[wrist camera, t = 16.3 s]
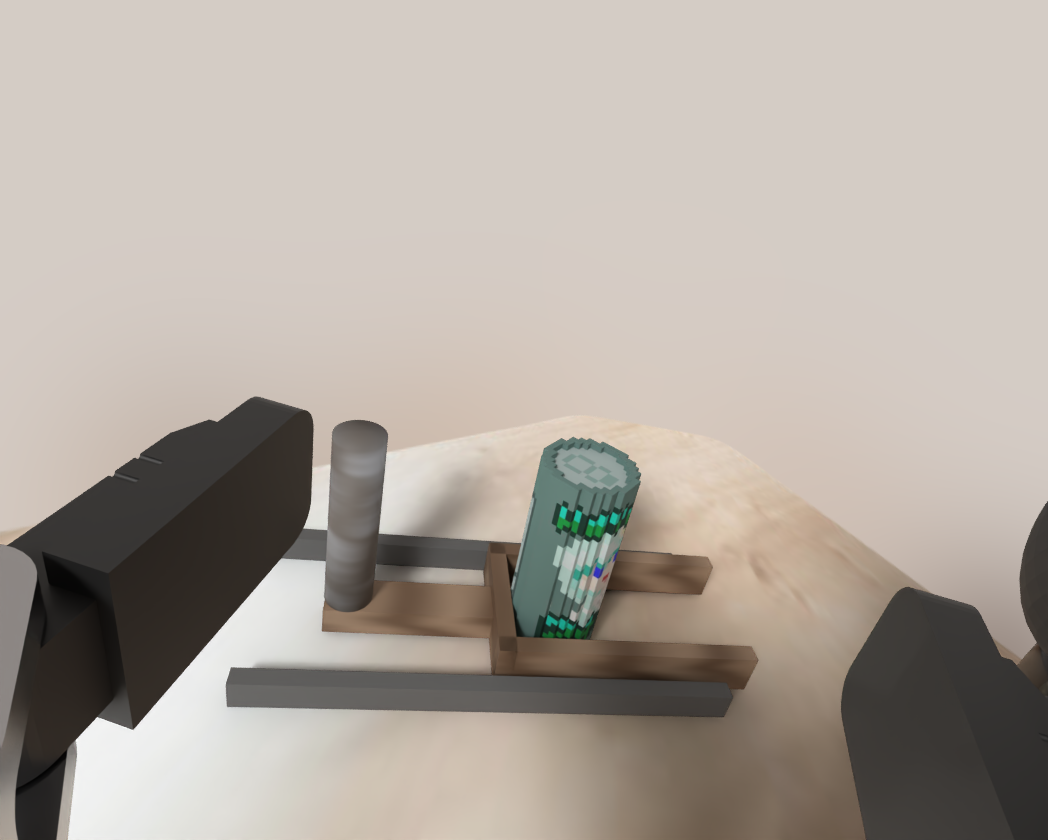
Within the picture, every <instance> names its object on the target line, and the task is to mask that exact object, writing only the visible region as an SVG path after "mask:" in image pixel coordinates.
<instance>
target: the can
mask: <svg viewBox="0 0 1048 840" xmlns="http://www.w3.org/2000/svg"><path fill="white" fill-rule="evenodd" d="M628 456H629V455H627V454H625V453H623V452H622V451H620V450H618V449H616V448H614V447H612V446H610V445H608V444H606V443H604V442H602V443H600V444H599V443H598V442H596V441H594V440H592V439H588V440H585V439H583V438H580V439H579V440H578V439H576V438H574V437H572V438H571V439H569V440H567V441H566V440H564V439H562V438H561V439H559V440H558V441H556V442H554V443H553V444H551V445H549V446H547V447H546V448H544V450H543V455H542V456H541V461H540V465H539V469H538V474H537V478H536V482H535V487H534V491H533V495H532V500H531V504H530V508H529V513H528V517H527V521H526V526H525V530H524V534H523V539H522V543H521V547H520V552H519V556H518V560H517V565H516V569H515V573H514V578H513V582H512V586H511V598H512V605H513V613H514V621H515V629H516V637H533V638H557V639H581V640H590V637H591V634H592V631H593V628H594V625H595V621H596V618H597V615H598V612H599V609H600V606H601V603H602V600H603V597H604V594H605V591H606V587H607V584H608V581H609V578H610V575H611V572H612V569H613V566H614V563H615V560H616V557H617V553H618V550H619V547H620V544H621V541H622V538H623V535H624V532H625V529H626V526H627V523H628V519H629V516H630V513H631V510H632V507H633V504H634V501H635V498H636V495H637V492H638V489H639V485H640V482H641V481H639V479H640V476H641V473H640V472H638V470H639V468H637V467H636V463H635V462H633V461H631V460H630V459H628Z"/></svg>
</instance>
